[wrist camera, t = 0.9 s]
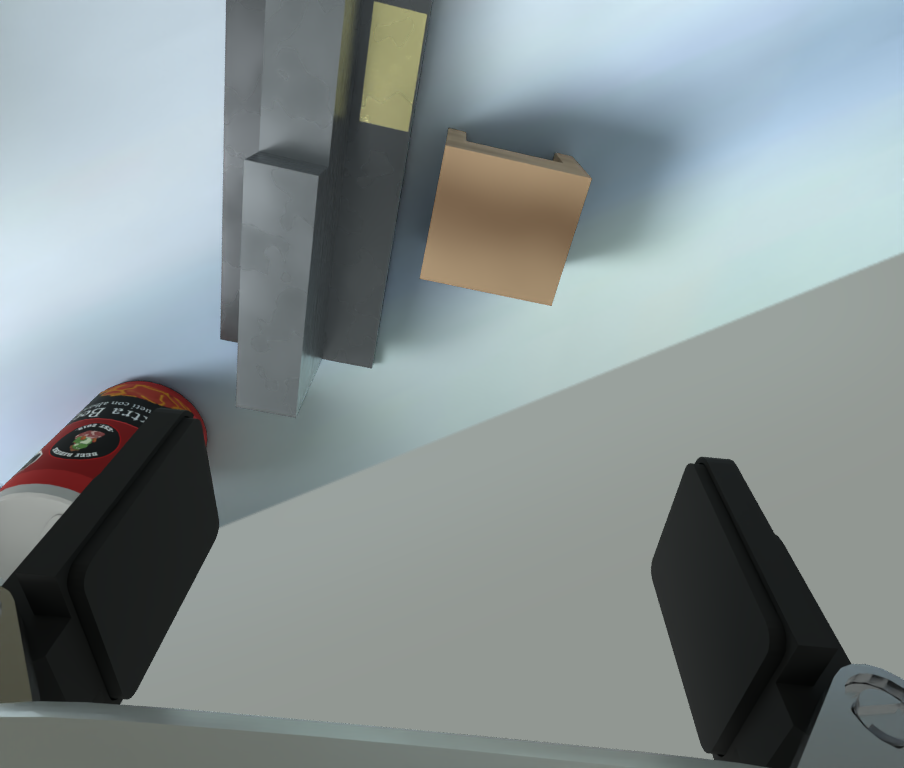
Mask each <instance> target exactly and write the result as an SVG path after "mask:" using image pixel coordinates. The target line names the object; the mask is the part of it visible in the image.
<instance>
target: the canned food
mask: <svg viewBox="0 0 904 768" xmlns="http://www.w3.org/2000/svg"><path fill="white" fill-rule="evenodd" d="M156 408H169V409H180V410H188V411H190V412H191V413H192V415H193V418H196V419H199V420H200V421H201V423H202V427H203V433H204V439H205V444H206V445H207V432H206V428H205V425H204V422H203V420H202V418H201V416H200V414H199V413H198V411H197V410H196V409H195V408H194V406H193V405H192V404H191V403H190V402H189V401H188V400H186V399H185V398H184V397H183V396H182V395H180V394H179V393H177V392H175V391H174V390H172V389H170V388H167V387H165V386H163V385H160V384H156V383H152V382H146V381H131V382H125V383H122V384H119V385H116V386H113V387H111V388H108V389H107V390H105V391H103V392H101V393H100V394H99V395H98V396H97V397H96V398H94V399H93V400H92V401H91V402H90V403H89V404H88V405H87V406H86V407H85V408H84V409H83V410H82V411H81V412H80V413H79V414H78V415H77V416H76V417H75V418H74V419H73V420H72V421H70V422H69V423H68V424H67V425H66V426H65V427H64V428H63V429H62V430H61V431H60V432H59V433H58V434H57V435H56V436H55V437H54V438H53V439H52V440H51V441H50V442H49V443H48V444H47V445H46V446H44V447H43V448H42V449H41V450H40V451H39V452H38V453H37V454H36V455H35V456H34V457H33V458H32V459H31V460H30V461H29V462H28V463H27V464H26V465H25V466H24V467H23V468H22V469H21V470H19V471H18V472H17V473H16V474H15V475H14V476H13V477H12V478H11V479H10V480H9V481H8V482H7V483H6V484H5V485H4V486H3V487H2V488H1V489H0V577H1V578H2V579H4V580H5V581H6V580H7V579H8V578H9V576H10V575H11V574H12V573H13V572H14V571H15V569H16V568H17V567H18V566H19V565H20V564H21V562H22V561H23V560H24V559H25V558H26V557H27V555H28V554H29V553H30V552H31V551H32V550H33V548H34V547H35V546H36V545H37V544H38V543H39V541H40V540H41V539H42V538H43V537H44V536H45V534H46V533H47V532H48V531H49V530H50V529H51V527H52V526H53V525H54V524H55V523H56V522H57V520H58V519H59V518H60V517H61V516H62V515H63V513H64V512H65V511H66V510H67V509H68V508H69V506H70V505H71V504H72V503H73V502H74V501H75V499H76V498H77V497H78V496H79V495H80V494H81V492H82V491H83V490H84V489H85V488H86V487H87V485H88V484H89V483H90V482H91V481H92V480H93V479H94V478H95V477H96V476H97V475H98V474H100V473H101V472H102V470H103V469H104V468H105V467H106V466H107V465H108V463H109V462H110V461H111V460H112V459H113V458H114V456H115V455H116V454H117V453H118V452H119V451H120V449H121V448H122V447H123V446H124V445H125V444H126V442H127V441H128V440H129V439H130V438H131V436H132V435H133V434H134V433H135V432H136V431H137V429H138V428H139V427H140V426H141V425H142V424H143V422H144V421H145V420H146V419H147V418H148V417H149V415H150V414H151V413H152V412H153V411H154V410H155V409H156Z"/></svg>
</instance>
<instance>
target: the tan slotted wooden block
mask: <svg viewBox="0 0 904 768" xmlns="http://www.w3.org/2000/svg"><path fill="white" fill-rule="evenodd" d="M591 180H592V178H591V177H590V176H589V175H588V174H587V172H586V171H585V170H584V169H583V168H582V167H581V166H580V165H579V164H578V162H577V161H576V160H575V159H574V158H573V157H572V156H568V155H564V154H560V153H555V154H554V158H553V161H551V160H547V159H543V158H538V157H534V156H530V155H525V154H521V153H517V152H512V151H508V150H503V149H499V148H495V147H490V146H486V145H482V144H477V143H473V142H468V141H466V132H464V131H460V130H455V129H451V128H449V129H448V134H447V139H446V144H445V149H444V155H443V160H442V165H441V170H440V175H439V181H438V186H437V191H436V196H435V201H434V207H433V212H432V217H431V222H430V227H429V232H428V238H427V243H426V248H425V253H424V259H423V264H422V269H421V275H420V279H424V280H429V281H434V282H438V283H443V284H448V285H453V286H458V287H463V288H467V289H472V290H477V291H482V292H487V293H492V294H496V295H501V296H506V297H511V298H516V299H521V300H525V301H530V302H535V303H540V304H545V305H550V306H552V303H553V299H554V296H555V293H556V290H557V287H558V284H559V280H560V277H561V274H562V271H563V268H564V265H565V262H566V258H567V255H568V252H569V249H570V246H571V243H572V240H573V236H574V233H575V230H576V227H577V224H578V221H579V217H580V214H581V211H582V208H583V205H584V202H585V199H586V195H587V192H588V189H589V186H590V183H591Z"/></svg>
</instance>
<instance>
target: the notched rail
mask: <svg viewBox="0 0 904 768" xmlns="http://www.w3.org/2000/svg"><path fill="white" fill-rule="evenodd" d="M432 1H433V0H226V42H225V100H224V159H223V217H222V276H221V334H220V339H222V340H227V341H232V342H237V343H238V355H237V385H236V407H240V408H246V409H251V410H257V411H262V412H268V413H273V414H279V415H284V416H289V417H295V418H296V416H297V414H298V412H299V409H300V407H301V405H302V403H303V400H304V398H305V396H306V394H307V391H308V389H309V387H310V385H311V382H312V380H313V378H314V376H315V373H316V371H317V369H318V367H319V364H320V362H321V360H322V359H326V360H331V361H336V362H341V363H347V364H352V365H357V366H362V367H367V368H372V366H373V361H374V355H375V349H376V343H377V337H378V331H379V324H380V318H381V312H382V306H383V300H384V294H385V288H386V282H387V276H388V270H389V263H390V257H391V251H392V245H393V239H394V233H395V227H396V221H397V215H398V209H399V202H400V196H401V190H402V184H403V178H404V172H405V166H406V160H407V154H408V147H409V141H410V135H411V129H412V123H413V117H414V111H415V105H416V99H417V93H418V86H419V80H420V74H421V68H422V62H423V56H424V50H425V44H426V38H427V32H428V25H429V19H430V13H431V7H432Z"/></svg>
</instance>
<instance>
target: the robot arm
mask: <svg viewBox="0 0 904 768" xmlns="http://www.w3.org/2000/svg"><path fill="white" fill-rule="evenodd" d="M218 529H219V518H218V512H217V507H216V501H215V495H214V490H213V484H212V478H211V473H210V467H209V461H208V456H207V450H206V444H205V439H204V433H203V427H202V423H201V421H200V420H199V419H196V418H193V415H192V413H191V412H190V411H188V410H180V409H169V408H156V409H155V410H154V411H153V412H152V413H151V414H150V415H149V417H148V418H147V419H146V420H145V421H144V422H143V424H142V425H141V426H140V427H139V428H138V429H137V431H136V432H135V433H134V434H133V435H132V436H131V438H130V439H129V440H128V441H127V442H126V444H125V445H124V446H123V447H122V448H121V449H120V451H119V452H118V453H117V454H116V455H115V456H114V458H113V459H112V460H111V461H110V462H109V463H108V465H107V466H106V467H105V468H104V469H103V470H102V472H101V473H100V474H98V475H97V476H96V477H95V478H94V479H93V480H92V481H91V482H90V483H89V484H88V485H87V487H86V488H85V489H84V490H83V491H82V492H81V494H80V495H79V496H78V497H77V498H76V499H75V501H74V502H73V503H72V504H71V505H70V506H69V508H68V509H67V510H66V511H65V512H64V513H63V515H62V516H61V517H60V518H59V519H58V520H57V522H56V523H55V524H54V525H53V526H52V527H51V529H50V530H49V531H48V532H47V533H46V534H45V536H44V537H43V538H42V539H41V540H40V541H39V543H38V544H37V545H36V546H35V547H34V548H33V550H32V551H31V552H30V553H29V554H28V555H27V557H26V558H25V559H24V560H23V561H22V562H21V564H20V565H19V566H18V567H17V568H16V569H15V571H14V572H13V573H12V574H11V575H10V576H9V578H8V579H7V580H6V581H5V580H4V579H2V578H1V577H0V768H904V680H903V679H901V678H900V677H898V676H896V675H894V674H892V673H890V672H888V671H885V670H884V669H881V668H877V667H874V666H870V665H866V664H851V662H850V661H849V659H848V657H847V655H846V654H845V652H844V650H843V648H842V647H841V645H840V643H839V641H838V639H837V638H836V636H835V634H834V632H833V631H832V629H831V627H830V625H829V623H828V622H827V620H826V618H825V616H824V615H823V613H822V611H821V609H820V607H819V606H818V604H817V602H816V600H815V599H814V597H813V595H812V593H811V592H810V590H809V588H808V586H807V584H806V583H805V581H804V579H803V577H802V576H801V574H800V572H799V570H798V568H797V567H796V565H795V563H794V561H793V560H792V558H791V556H790V554H789V553H788V551H787V549H786V547H785V545H784V544H783V542H782V541H781V540H780V538H779V537H778V536H777V535H775V534H774V532H773V530H772V529H771V526H770V525H769V523H768V521H767V519H766V517H765V516H764V514H763V512H762V511H761V509H760V507H759V505H758V503H757V501H756V500H755V498H754V496H753V494H752V492H751V491H750V489H749V487H748V486H747V483H746V482H745V480H744V478H743V476H742V474H741V473H740V471H739V469H738V467H737V466H736V464H735V463H734V461H732V460H730V459H719V458H709V457H700V458H699V459H697V461H696V462H695V464H691V463H690V464H688V465H687V466H686V468H685V471H684V474H683V476H682V479H681V482H680V485H679V488H678V490H677V493H676V496H675V498H674V501H673V504H672V507H671V510H670V512H669V515H668V518H667V521H666V523H665V526H664V529H663V532H662V535H661V537H660V540H659V543H658V546H657V549H656V551H655V554H654V557H653V560H652V566H651V574H652V580H653V584H654V587H655V590H656V594H657V597H658V601H659V604H660V607H661V611H662V614H663V617H664V621H665V624H666V628H667V631H668V635H669V638H670V641H671V645H672V648H673V651H674V655H675V658H676V662H677V665H678V669H679V672H680V675H681V679H682V682H683V686H684V689H685V692H686V696H687V699H688V703H689V706H690V709H691V713H692V716H693V720H694V723H695V726H696V730H697V733H698V737H699V740H700V743H701V746H702V748H703V749H704V751H705V752H706V753H711V754H713V758H714V760H709V759H701V758H692V757H683V756H674V755H666V754H658V753H649V752H639V751H630V750H619V749H608V748H599V747H589V746H579V745H569V744H557V743H548V742H537V741H528V740H518V739H507V738H497V737H486V736H476V735H465V734H454V733H444V732H432V731H422V730H412V729H401V728H390V727H379V726H368V725H357V724H346V723H335V722H324V721H312V720H302V719H290V718H279V717H268V716H256V715H245V714H233V713H221V712H210V711H199V710H187V709H174V708H161V707H146V706H132V705H120V703H121V702H122V700H123V699H130V698H131V697H132V696H133V695H134V694H135V692H136V690H137V689H138V687H139V685H140V683H141V681H142V679H143V677H144V675H145V673H146V671H147V669H148V668H149V666H150V664H151V662H152V660H153V658H154V656H155V654H156V652H157V650H158V649H159V647H160V645H161V643H162V641H163V639H164V637H165V635H166V633H167V631H168V629H169V627H170V625H171V624H172V622H173V620H174V618H175V616H176V614H177V612H178V610H179V608H180V606H181V604H182V603H183V600H184V599H185V597H186V595H187V593H188V591H189V589H190V587H191V585H192V583H193V582H194V580H195V578H196V575H197V574H198V572H199V570H200V568H201V566H202V564H203V562H204V560H205V558H206V557H207V555H208V553H209V551H210V549H211V547H212V545H213V543H214V541H215V539H216V536H217V534H218Z"/></svg>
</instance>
